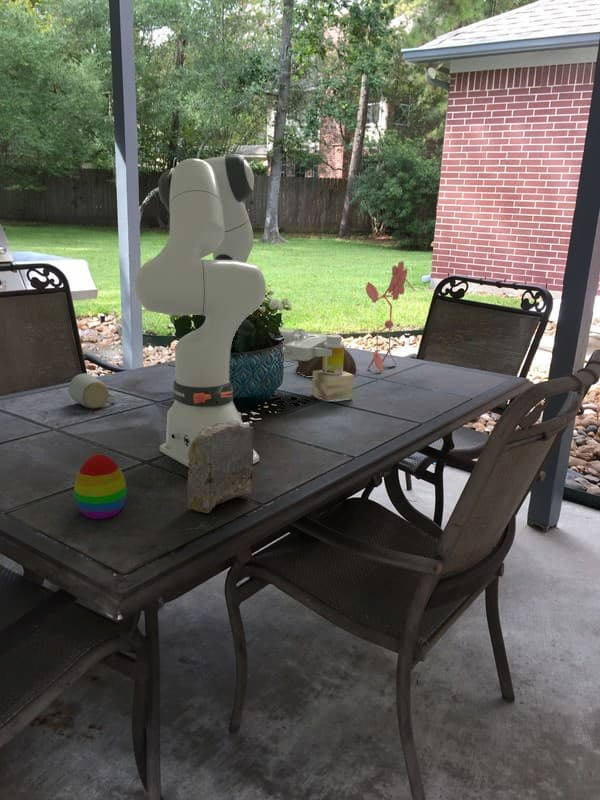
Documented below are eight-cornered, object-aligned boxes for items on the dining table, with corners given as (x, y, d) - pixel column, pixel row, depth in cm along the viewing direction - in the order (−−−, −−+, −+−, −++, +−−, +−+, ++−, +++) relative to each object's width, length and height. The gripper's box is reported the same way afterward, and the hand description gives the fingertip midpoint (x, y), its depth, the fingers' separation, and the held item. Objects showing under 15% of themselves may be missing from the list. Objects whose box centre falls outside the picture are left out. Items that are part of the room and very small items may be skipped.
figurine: (352, 373, 209) (361, 260, 199) (388, 360, 230) (398, 257, 220) (396, 382, 201) (408, 265, 192) (429, 368, 222) (441, 262, 212)
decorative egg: (133, 503, 113) (131, 448, 110) (117, 524, 105) (115, 466, 102) (86, 500, 113) (83, 445, 111) (67, 521, 106) (63, 463, 103)
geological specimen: (231, 490, 119) (231, 411, 115) (256, 500, 116) (257, 418, 112) (186, 509, 111) (184, 424, 107) (211, 520, 108) (211, 433, 103)
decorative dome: (282, 370, 211) (283, 339, 208) (328, 363, 223) (330, 334, 221) (323, 383, 197) (324, 350, 194) (369, 375, 209) (371, 344, 207)
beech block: (352, 399, 180) (353, 374, 178) (327, 403, 176) (328, 377, 174) (336, 392, 187) (337, 368, 185) (311, 395, 183) (312, 371, 181)
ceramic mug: (83, 412, 161) (82, 381, 159) (68, 404, 167) (67, 375, 165) (123, 405, 168) (122, 376, 166) (107, 398, 174) (106, 370, 172)
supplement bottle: (347, 374, 179) (349, 336, 176) (331, 376, 175) (333, 338, 173) (333, 369, 183) (334, 333, 180) (317, 372, 179) (319, 335, 177)
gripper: (274, 339, 172) (325, 344, 167) (301, 328, 190) (348, 332, 186) (274, 363, 173) (324, 369, 169) (301, 349, 192) (347, 354, 187)
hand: (337, 349), depth 177 cm, fingers open, 7 cm apart
